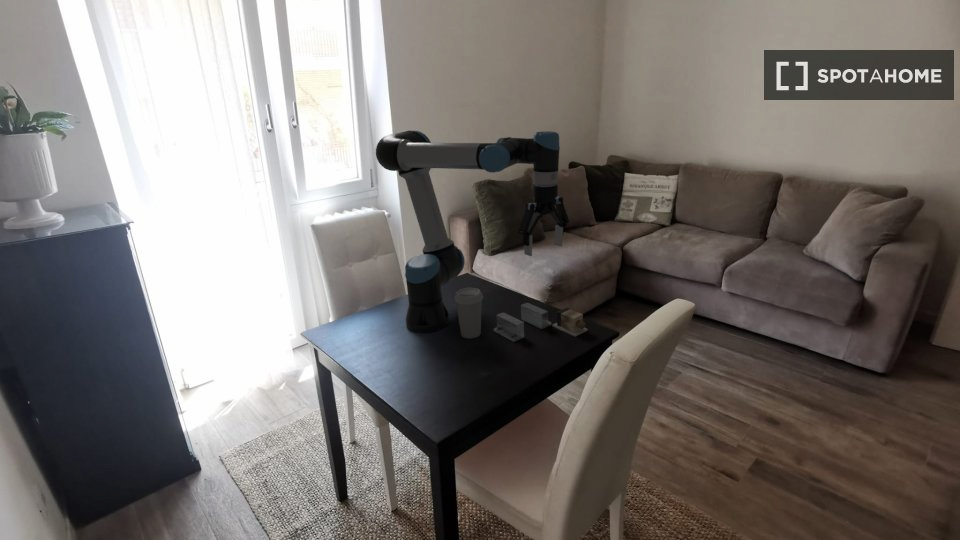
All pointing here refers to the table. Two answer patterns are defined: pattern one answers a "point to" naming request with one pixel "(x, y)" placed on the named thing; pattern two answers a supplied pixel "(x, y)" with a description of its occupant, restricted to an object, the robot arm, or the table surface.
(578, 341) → the table surface
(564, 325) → the tan piece
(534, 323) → the dark grey boxy pieces
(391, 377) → the table surface
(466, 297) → the coffee cup
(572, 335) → the mat
